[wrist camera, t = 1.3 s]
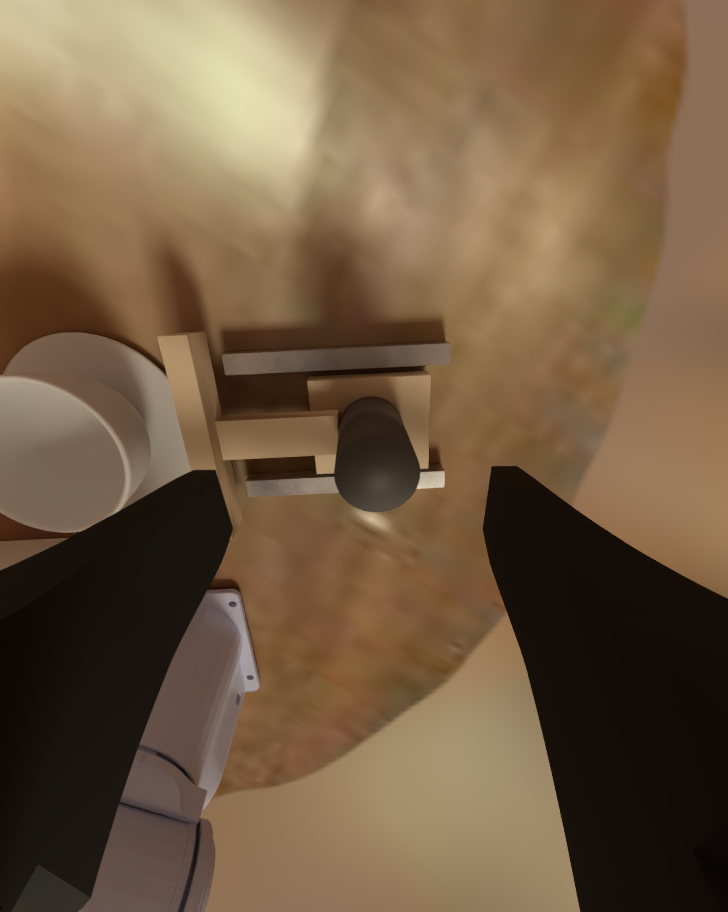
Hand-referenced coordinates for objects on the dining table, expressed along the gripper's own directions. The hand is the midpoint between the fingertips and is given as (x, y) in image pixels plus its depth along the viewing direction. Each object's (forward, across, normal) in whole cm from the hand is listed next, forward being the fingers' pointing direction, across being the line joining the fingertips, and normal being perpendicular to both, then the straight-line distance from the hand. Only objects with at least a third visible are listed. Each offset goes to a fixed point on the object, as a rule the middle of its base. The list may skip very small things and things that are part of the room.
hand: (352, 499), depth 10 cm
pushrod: (+10, +3, +2) cm, 11 cm away
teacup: (+10, +15, +2) cm, 18 cm away
